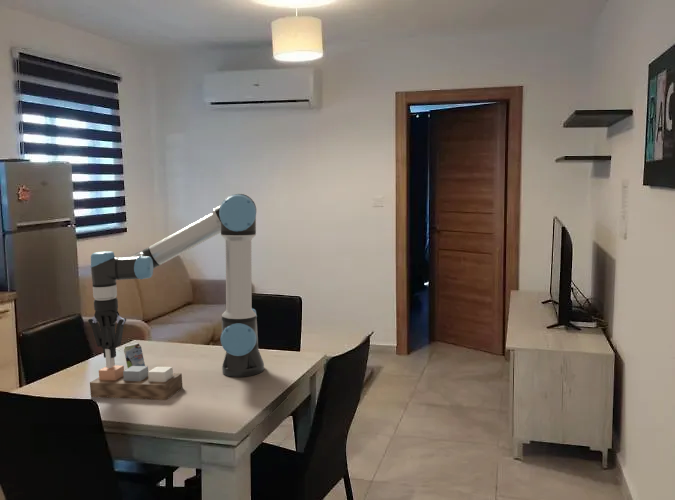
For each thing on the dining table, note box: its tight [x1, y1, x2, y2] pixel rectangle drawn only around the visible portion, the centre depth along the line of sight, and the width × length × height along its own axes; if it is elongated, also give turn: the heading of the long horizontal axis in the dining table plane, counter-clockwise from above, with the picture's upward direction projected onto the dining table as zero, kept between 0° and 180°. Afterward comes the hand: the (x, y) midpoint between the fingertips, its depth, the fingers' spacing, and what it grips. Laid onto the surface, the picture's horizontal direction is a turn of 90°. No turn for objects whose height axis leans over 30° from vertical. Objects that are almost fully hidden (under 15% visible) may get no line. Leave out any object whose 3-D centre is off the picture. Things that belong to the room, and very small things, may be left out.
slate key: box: [123, 365, 149, 381], centre depth 213 cm, size 6×6×4 cm
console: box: [89, 372, 184, 401], centre depth 213 cm, size 27×12×5 cm, turn 78°
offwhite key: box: [148, 366, 174, 382], centre depth 211 cm, size 6×6×4 cm
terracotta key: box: [98, 364, 125, 380], centre depth 215 cm, size 6×6×4 cm
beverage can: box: [123, 342, 146, 369], centre depth 231 cm, size 6×7×12 cm
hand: (110, 366), depth 214 cm, fingers closed
